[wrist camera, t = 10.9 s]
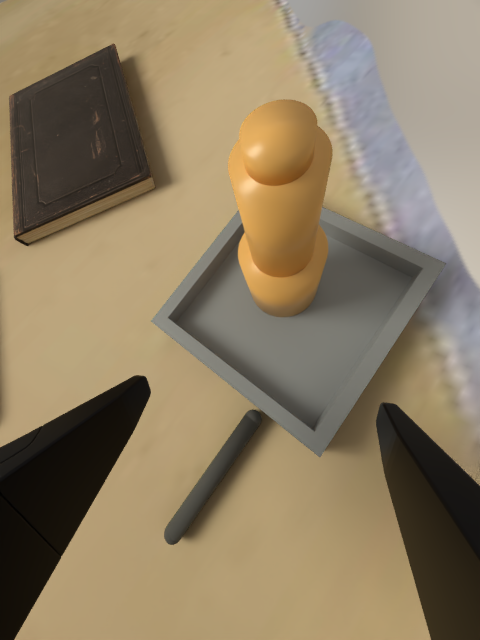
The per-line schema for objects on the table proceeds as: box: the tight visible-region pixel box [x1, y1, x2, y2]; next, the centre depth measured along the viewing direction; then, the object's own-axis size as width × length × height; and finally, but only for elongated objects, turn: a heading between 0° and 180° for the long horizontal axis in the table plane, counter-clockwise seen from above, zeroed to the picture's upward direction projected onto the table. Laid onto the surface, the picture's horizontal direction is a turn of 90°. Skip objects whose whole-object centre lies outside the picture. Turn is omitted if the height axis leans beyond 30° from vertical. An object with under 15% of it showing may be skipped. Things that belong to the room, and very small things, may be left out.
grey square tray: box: [151, 207, 446, 457], centre depth 19 cm, size 15×15×2 cm
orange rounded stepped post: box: [228, 100, 332, 317], centre depth 14 cm, size 5×5×12 cm
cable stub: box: [164, 410, 262, 545], centre depth 17 cm, size 1×10×1 cm, turn 143°
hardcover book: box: [9, 44, 155, 246], centre depth 29 cm, size 16×23×2 cm
